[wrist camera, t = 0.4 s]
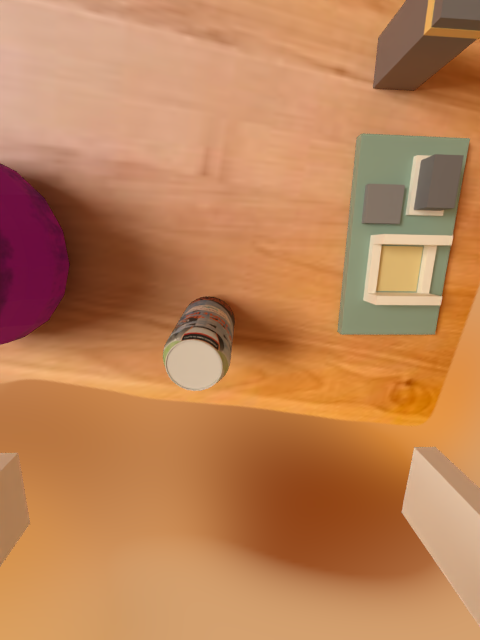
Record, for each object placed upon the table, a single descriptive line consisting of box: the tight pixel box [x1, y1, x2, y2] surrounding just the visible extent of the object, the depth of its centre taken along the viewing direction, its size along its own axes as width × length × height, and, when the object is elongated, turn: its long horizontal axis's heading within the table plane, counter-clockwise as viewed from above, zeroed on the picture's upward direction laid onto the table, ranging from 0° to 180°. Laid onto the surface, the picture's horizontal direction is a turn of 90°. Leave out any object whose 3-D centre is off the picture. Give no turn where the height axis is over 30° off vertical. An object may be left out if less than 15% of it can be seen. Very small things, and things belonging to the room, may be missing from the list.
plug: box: [373, 0, 480, 91], centre depth 26 cm, size 5×5×10 cm
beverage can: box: [163, 297, 235, 391], centre depth 31 cm, size 6×7×12 cm
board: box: [338, 134, 470, 334], centre depth 34 cm, size 22×12×4 cm, turn 179°
